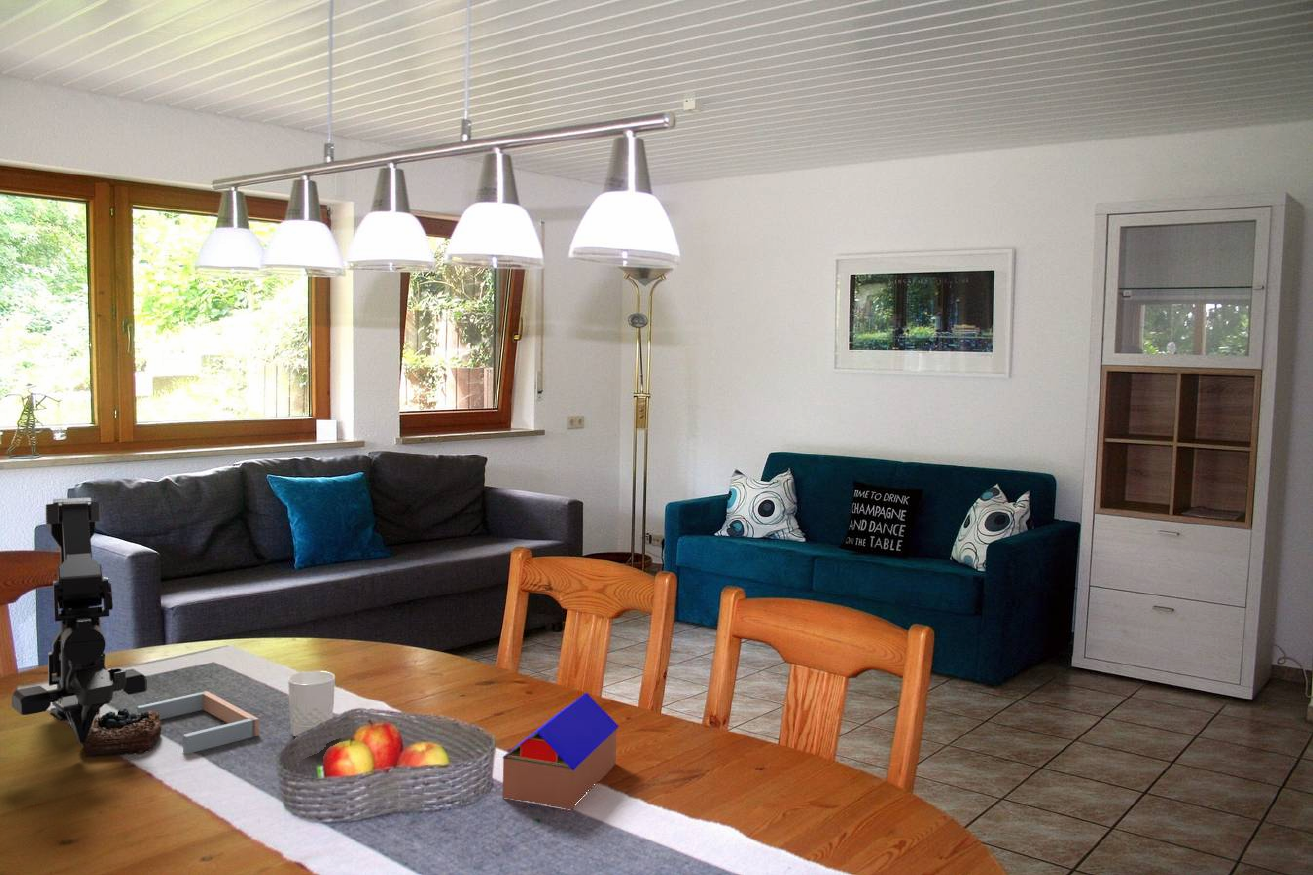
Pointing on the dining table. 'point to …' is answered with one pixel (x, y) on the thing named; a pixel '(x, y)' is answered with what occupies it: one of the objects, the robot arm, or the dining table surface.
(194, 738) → the corral
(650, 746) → the dining table surface
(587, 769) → the house
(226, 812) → the dining table surface
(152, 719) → the pastry
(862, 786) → the dining table surface
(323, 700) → the white cup
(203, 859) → the dining table surface
